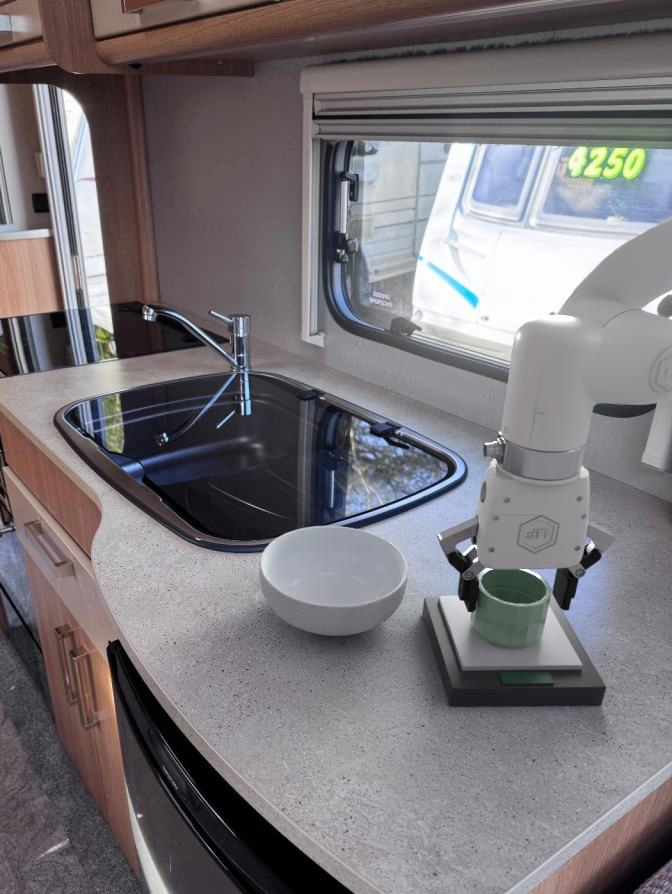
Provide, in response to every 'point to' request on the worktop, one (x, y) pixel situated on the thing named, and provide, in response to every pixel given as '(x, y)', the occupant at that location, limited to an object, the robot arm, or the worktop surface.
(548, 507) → the robot arm
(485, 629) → the small cup
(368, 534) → the cereal bowl
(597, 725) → the worktop surface
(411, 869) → the worktop surface
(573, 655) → the scale
